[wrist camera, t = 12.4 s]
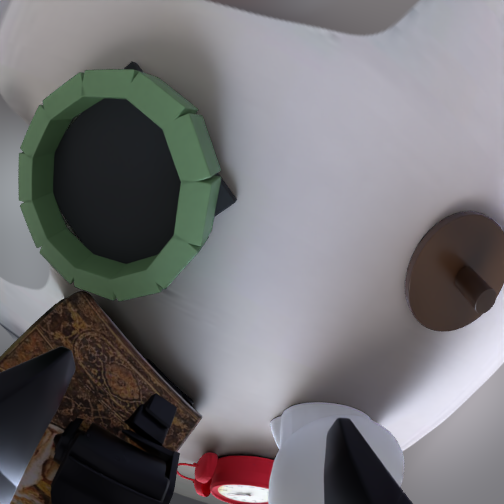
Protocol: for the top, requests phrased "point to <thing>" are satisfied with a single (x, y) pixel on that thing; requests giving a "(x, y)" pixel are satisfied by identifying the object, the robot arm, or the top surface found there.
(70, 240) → the ring
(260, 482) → the alarm clock
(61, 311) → the book
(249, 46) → the top surface
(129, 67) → the mat
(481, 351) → the top surface
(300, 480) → the figurine
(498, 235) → the ring stand
